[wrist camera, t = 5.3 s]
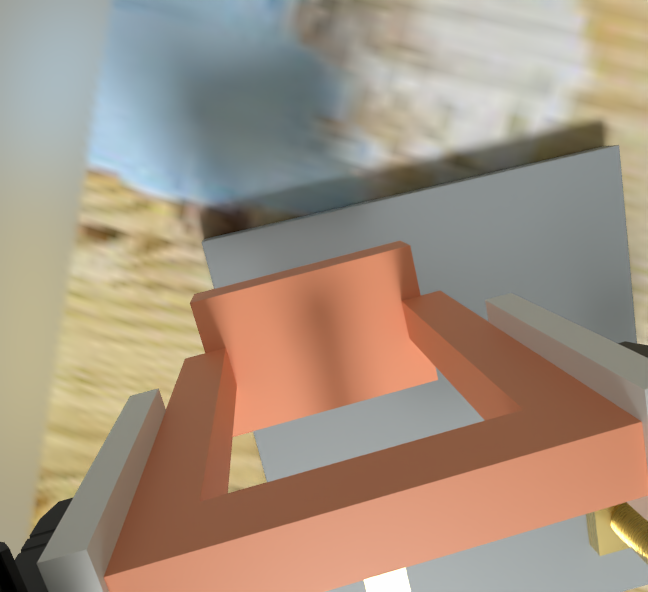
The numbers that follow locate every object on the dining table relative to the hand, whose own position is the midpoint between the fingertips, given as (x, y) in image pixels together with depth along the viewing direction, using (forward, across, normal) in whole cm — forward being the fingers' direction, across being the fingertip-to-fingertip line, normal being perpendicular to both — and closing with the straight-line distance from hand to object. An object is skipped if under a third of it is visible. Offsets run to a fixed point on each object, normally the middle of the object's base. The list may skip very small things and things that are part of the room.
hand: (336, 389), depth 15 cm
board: (+13, +6, -9) cm, 17 cm away
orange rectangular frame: (+6, 0, 0) cm, 6 cm away
